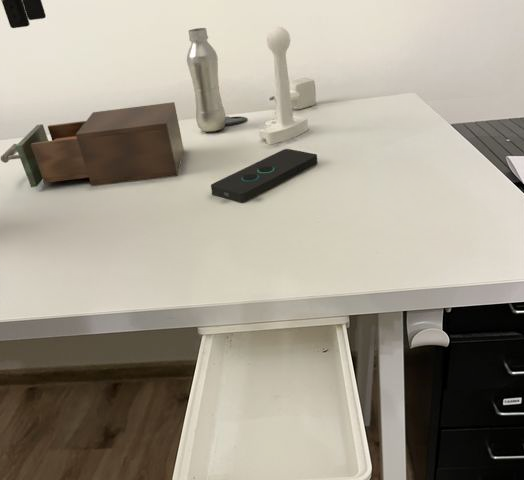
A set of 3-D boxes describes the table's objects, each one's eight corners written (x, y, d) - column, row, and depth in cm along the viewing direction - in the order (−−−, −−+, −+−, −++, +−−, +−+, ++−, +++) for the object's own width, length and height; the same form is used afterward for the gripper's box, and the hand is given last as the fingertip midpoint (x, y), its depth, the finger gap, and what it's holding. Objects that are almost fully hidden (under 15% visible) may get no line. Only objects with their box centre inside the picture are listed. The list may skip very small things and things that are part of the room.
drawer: (5, 190, 105) (-12, 149, 100) (26, 166, 116) (12, 127, 111) (110, 177, 104) (98, 135, 99) (122, 154, 115) (112, 115, 110)
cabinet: (91, 185, 104) (75, 134, 99) (106, 159, 116) (92, 112, 110) (177, 175, 104) (166, 123, 98) (183, 150, 115) (174, 102, 109)
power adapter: (279, 117, 127) (277, 89, 123) (268, 113, 130) (265, 86, 127) (318, 105, 131) (317, 78, 127) (306, 102, 134) (305, 76, 131)
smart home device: (208, 184, 94) (285, 147, 104) (209, 194, 95) (285, 156, 105) (242, 193, 89) (319, 153, 99) (243, 203, 90) (319, 163, 101)
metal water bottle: (205, 125, 128) (189, 27, 115) (232, 125, 125) (218, 25, 113) (193, 134, 123) (175, 33, 111) (220, 135, 121) (205, 31, 108)
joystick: (273, 145, 111) (263, 33, 99) (249, 139, 116) (237, 31, 104) (312, 129, 117) (306, 21, 104) (288, 124, 121) (279, 20, 109)
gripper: (-14, -97, 94) (24, 18, 104) (-57, -100, 80) (-9, 33, 91) (29, -103, 94) (62, 13, 104) (-8, -107, 80) (35, 27, 91)
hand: (29, 22), depth 97 cm, fingers open, 9 cm apart
